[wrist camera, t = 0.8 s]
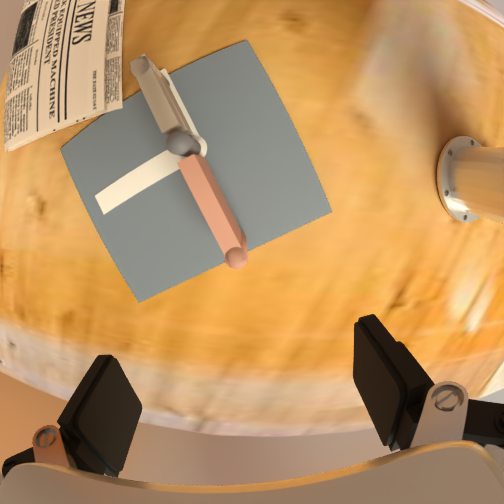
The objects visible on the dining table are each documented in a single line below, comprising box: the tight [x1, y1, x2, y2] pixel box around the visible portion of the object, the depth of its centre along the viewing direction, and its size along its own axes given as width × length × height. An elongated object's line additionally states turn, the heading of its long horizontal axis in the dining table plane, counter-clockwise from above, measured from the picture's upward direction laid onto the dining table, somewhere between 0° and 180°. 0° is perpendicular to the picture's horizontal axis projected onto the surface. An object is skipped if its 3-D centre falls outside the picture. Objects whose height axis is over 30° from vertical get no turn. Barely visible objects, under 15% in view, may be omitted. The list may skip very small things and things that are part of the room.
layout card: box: [60, 40, 332, 303], centre depth 29 cm, size 26×24×1 cm
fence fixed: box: [129, 54, 193, 136], centre depth 23 cm, size 2×8×8 cm, turn 25°
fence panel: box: [166, 131, 248, 269], centre depth 26 cm, size 13×2×7 cm, turn 25°
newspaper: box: [4, 0, 125, 152], centre depth 20 cm, size 37×19×3 cm, turn 6°
